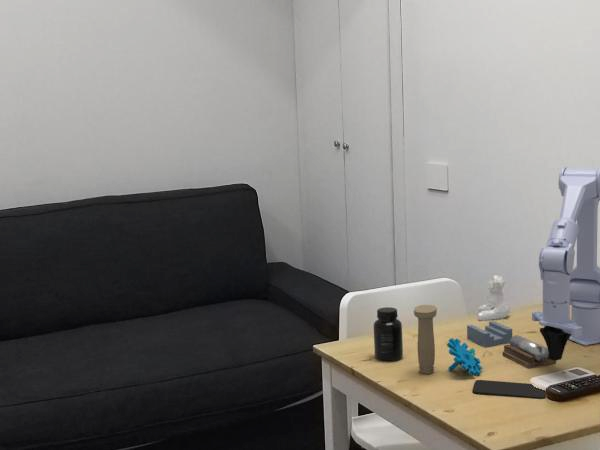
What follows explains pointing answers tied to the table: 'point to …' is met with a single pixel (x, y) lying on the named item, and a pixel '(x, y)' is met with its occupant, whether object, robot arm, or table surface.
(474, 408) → the table surface
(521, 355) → the brown channel tray
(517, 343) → the axle
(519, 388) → the phone
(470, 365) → the gear
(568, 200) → the robot arm
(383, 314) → the supplement bottle
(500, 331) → the v block
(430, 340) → the handle
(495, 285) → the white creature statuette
